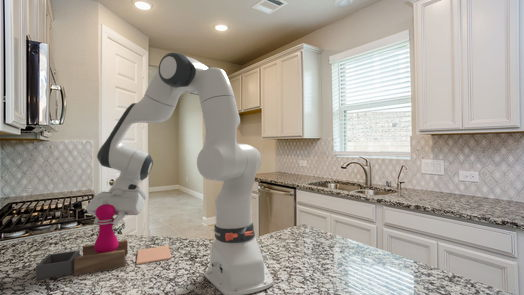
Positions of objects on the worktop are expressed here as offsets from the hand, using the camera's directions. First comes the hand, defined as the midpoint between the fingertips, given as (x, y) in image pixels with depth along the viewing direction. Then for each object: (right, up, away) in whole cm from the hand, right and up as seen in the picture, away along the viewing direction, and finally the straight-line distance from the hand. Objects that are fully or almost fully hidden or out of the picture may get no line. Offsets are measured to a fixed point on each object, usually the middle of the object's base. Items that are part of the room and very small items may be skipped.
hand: (104, 224), depth 94 cm
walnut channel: (0, -13, 0) cm, 13 cm away
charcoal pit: (-12, -13, -4) cm, 19 cm away
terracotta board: (+14, -13, +6) cm, 20 cm away
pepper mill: (+1, -12, 0) cm, 12 cm away
